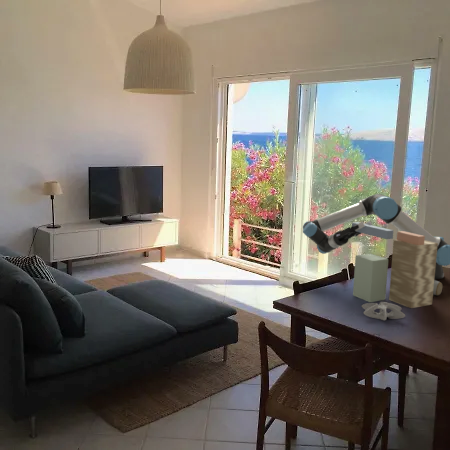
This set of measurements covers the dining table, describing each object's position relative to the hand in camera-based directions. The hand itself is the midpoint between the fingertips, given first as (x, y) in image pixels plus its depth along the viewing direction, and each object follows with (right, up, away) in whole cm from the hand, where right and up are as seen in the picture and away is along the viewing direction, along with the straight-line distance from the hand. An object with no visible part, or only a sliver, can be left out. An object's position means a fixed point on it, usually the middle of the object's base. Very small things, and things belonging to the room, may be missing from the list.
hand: (367, 223), depth 259 cm
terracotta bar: (+18, -9, -10) cm, 22 cm away
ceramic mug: (+37, -36, +12) cm, 53 cm away
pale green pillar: (+2, -37, +3) cm, 37 cm away
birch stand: (+20, -38, -3) cm, 43 cm away
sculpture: (0, -42, -25) cm, 49 cm away
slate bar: (+1, -5, -2) cm, 6 cm away
